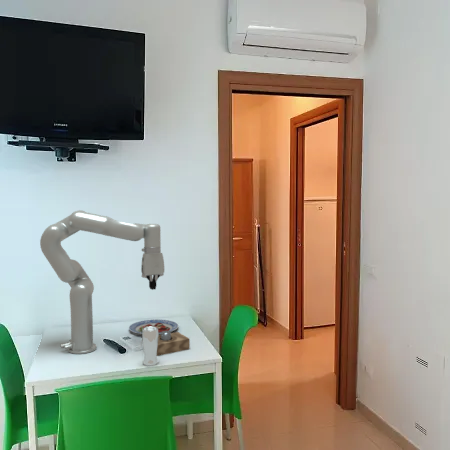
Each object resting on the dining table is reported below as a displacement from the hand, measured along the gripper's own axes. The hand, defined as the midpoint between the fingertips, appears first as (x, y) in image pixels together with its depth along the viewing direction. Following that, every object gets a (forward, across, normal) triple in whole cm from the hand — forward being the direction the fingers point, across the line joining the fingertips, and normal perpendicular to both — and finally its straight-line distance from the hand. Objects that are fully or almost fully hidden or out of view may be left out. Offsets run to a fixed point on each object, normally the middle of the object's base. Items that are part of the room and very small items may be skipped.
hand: (152, 288), depth 212 cm
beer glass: (+27, -10, -20) cm, 36 cm away
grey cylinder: (+27, +3, -8) cm, 28 cm away
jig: (+27, +3, -8) cm, 28 cm away
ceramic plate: (+28, +10, +22) cm, 37 cm away
